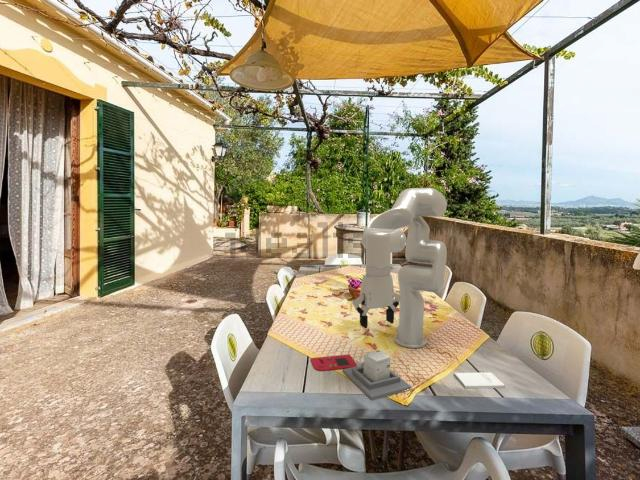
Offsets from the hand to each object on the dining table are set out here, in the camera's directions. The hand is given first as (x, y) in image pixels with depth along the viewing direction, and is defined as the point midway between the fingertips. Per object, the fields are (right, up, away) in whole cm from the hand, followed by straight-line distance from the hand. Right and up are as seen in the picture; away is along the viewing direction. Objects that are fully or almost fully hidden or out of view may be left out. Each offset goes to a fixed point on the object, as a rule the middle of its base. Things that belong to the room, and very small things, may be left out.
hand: (377, 324), depth 108 cm
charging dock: (0, -18, +2) cm, 18 cm away
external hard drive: (+32, -19, +1) cm, 38 cm away
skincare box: (0, -18, +2) cm, 18 cm away
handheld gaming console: (-13, -18, +13) cm, 26 cm away
